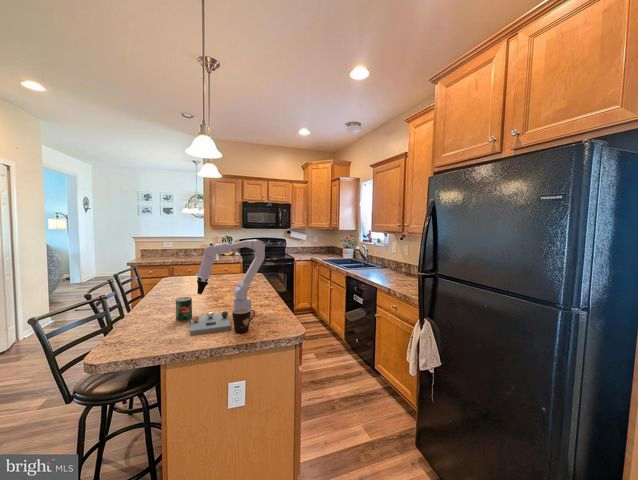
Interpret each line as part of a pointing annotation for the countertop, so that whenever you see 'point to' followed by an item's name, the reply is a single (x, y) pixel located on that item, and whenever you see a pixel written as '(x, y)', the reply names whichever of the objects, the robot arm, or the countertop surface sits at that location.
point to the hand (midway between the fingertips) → (199, 292)
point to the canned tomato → (183, 309)
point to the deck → (210, 324)
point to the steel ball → (210, 315)
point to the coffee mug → (242, 320)
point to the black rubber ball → (224, 314)
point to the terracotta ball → (195, 318)
